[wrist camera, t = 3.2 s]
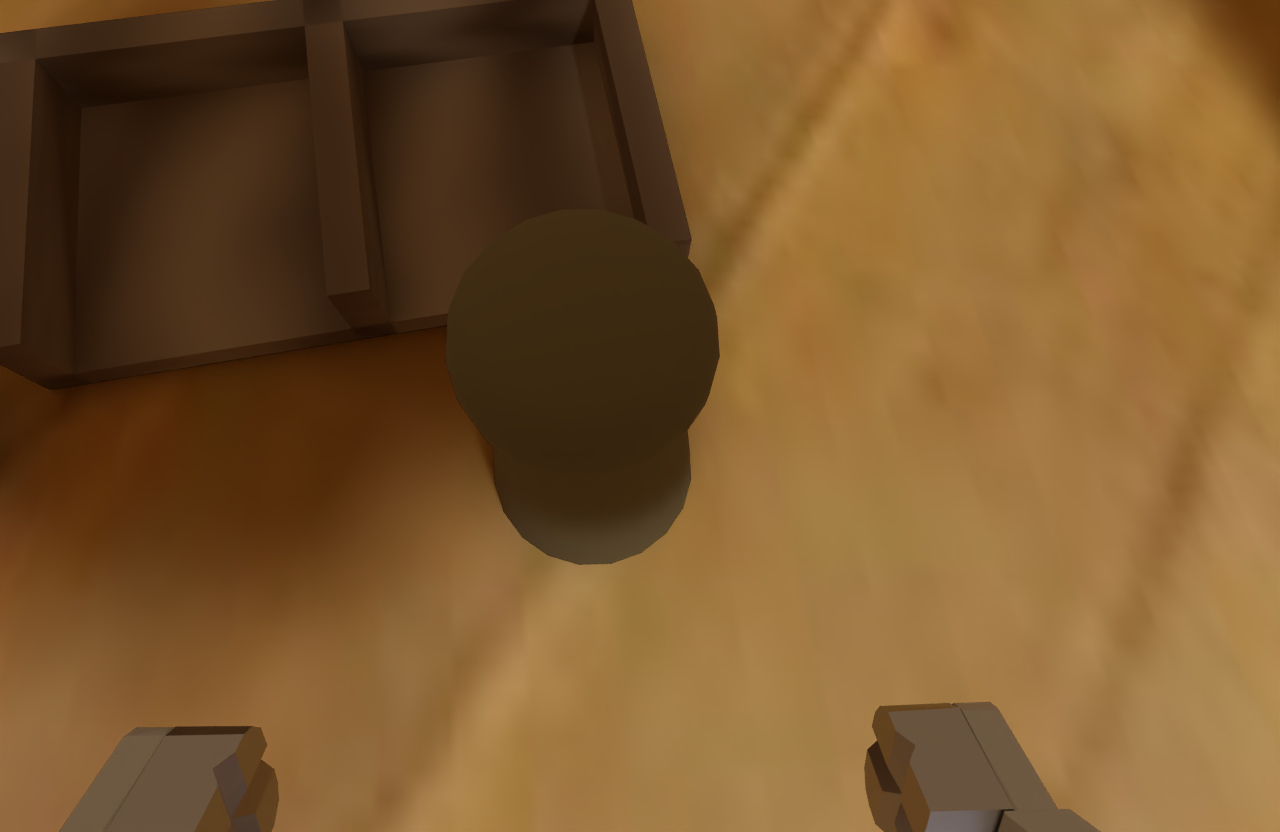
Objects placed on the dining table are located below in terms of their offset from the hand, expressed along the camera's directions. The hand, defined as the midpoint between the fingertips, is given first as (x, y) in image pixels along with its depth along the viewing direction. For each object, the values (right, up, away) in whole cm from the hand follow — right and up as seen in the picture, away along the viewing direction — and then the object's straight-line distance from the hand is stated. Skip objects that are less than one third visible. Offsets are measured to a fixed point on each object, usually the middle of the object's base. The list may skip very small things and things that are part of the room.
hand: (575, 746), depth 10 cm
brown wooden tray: (-9, +12, +16) cm, 22 cm away
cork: (-1, +3, +13) cm, 14 cm away
